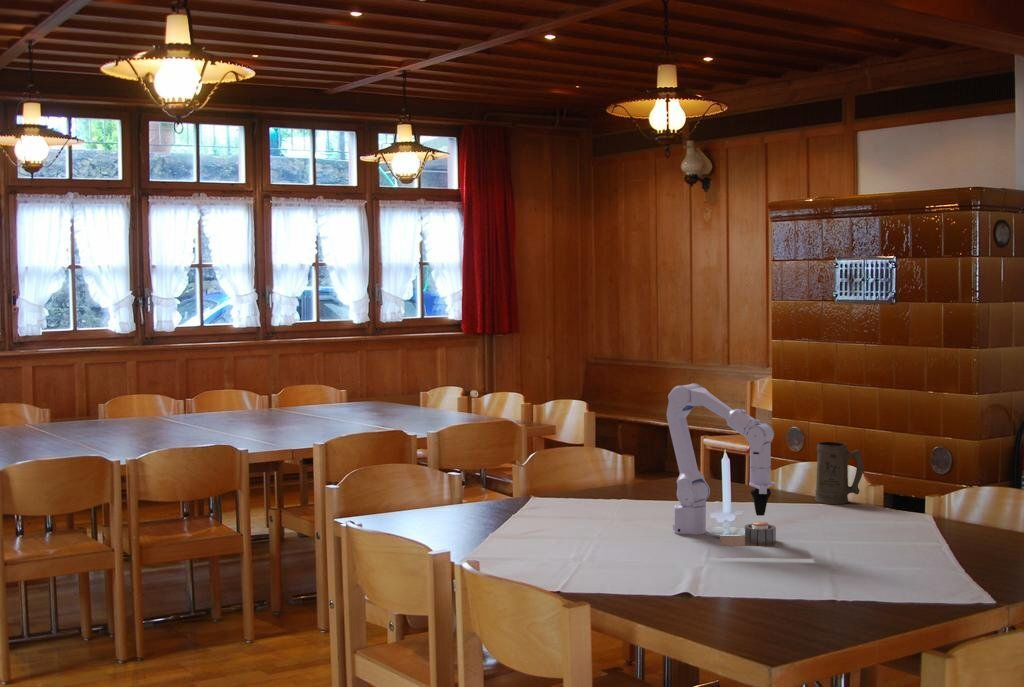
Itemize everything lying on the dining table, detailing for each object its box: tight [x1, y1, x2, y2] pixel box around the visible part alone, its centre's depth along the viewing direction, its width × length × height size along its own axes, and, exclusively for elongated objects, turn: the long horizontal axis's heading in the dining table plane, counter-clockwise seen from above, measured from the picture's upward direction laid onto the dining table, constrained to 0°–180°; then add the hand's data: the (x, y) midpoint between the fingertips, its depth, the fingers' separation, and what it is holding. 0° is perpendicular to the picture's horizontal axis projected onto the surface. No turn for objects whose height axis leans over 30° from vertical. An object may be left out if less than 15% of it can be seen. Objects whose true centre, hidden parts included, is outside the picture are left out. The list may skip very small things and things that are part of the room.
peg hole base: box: [718, 523, 778, 547], centre depth 327 cm, size 15×13×5 cm
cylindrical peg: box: [751, 521, 769, 529], centre depth 327 cm, size 4×4×5 cm
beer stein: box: [814, 441, 864, 505], centre depth 388 cm, size 15×11×20 cm
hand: (760, 515), depth 327 cm, fingers closed
